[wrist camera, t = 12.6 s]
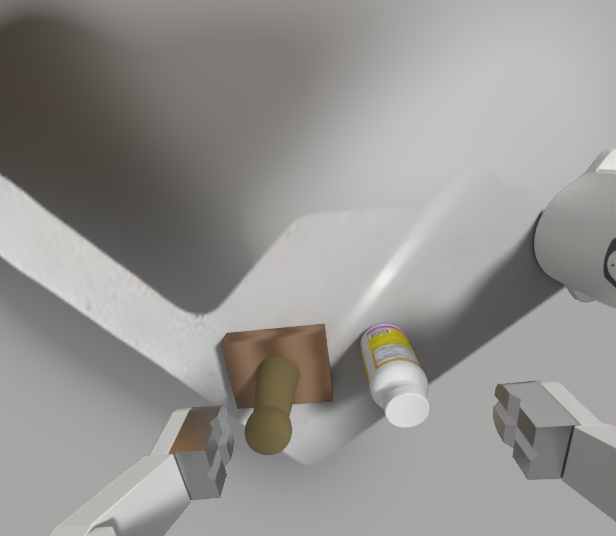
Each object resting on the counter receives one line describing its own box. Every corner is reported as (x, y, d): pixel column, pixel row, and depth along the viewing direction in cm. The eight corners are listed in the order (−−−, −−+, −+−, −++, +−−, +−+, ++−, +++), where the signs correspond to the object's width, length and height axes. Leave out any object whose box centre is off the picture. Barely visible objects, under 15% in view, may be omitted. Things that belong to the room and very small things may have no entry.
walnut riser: (324, 323, 44) (325, 335, 41) (332, 386, 48) (333, 401, 45) (227, 333, 45) (221, 345, 42) (242, 393, 49) (237, 408, 46)
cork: (299, 392, 45) (294, 465, 35) (257, 391, 45) (239, 463, 35) (299, 356, 43) (294, 423, 32) (255, 355, 43) (235, 421, 33)
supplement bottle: (391, 367, 47) (416, 443, 35) (351, 350, 46) (363, 422, 34) (415, 332, 44) (452, 400, 32) (374, 314, 44) (396, 377, 31)
